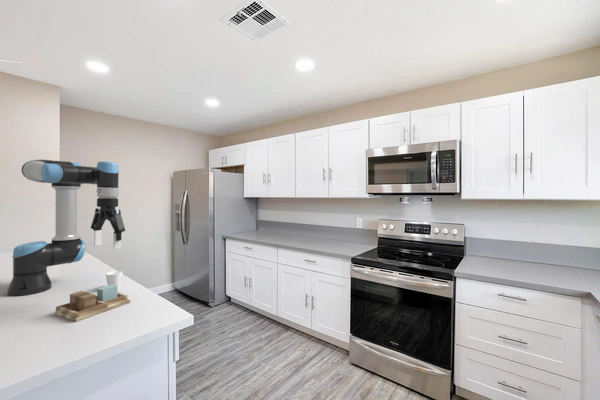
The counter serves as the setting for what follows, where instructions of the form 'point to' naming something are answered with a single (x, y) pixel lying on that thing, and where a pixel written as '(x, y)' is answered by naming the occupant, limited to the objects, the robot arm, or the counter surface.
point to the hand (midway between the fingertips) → (107, 246)
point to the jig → (99, 308)
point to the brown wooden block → (82, 301)
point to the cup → (114, 278)
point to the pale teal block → (107, 293)
